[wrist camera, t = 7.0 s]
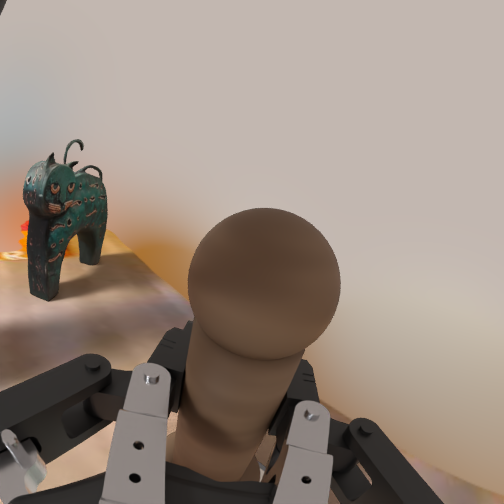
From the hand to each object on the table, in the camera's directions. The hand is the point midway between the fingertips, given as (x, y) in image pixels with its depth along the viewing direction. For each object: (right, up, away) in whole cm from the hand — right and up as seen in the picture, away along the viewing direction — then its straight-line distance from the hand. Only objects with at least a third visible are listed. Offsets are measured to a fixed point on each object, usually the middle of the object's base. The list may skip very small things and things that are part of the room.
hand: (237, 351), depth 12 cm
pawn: (-2, -7, -1) cm, 8 cm away
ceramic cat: (-27, +1, +23) cm, 36 cm away
